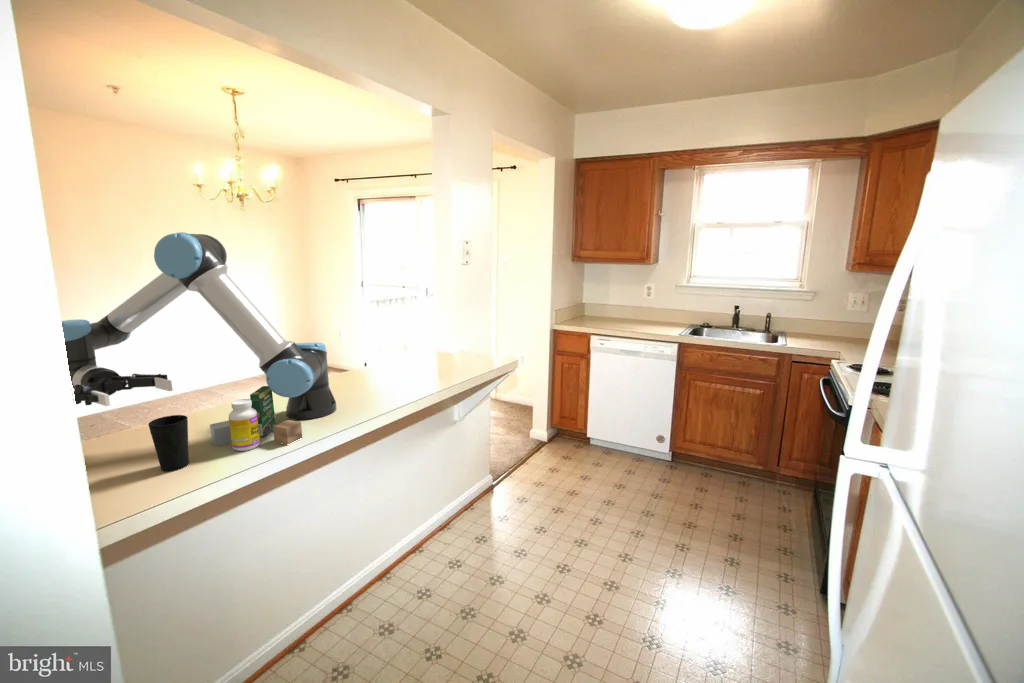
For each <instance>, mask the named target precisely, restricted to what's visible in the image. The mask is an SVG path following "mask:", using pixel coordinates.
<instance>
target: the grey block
mask: <svg viewBox="0 0 1024 683" xmlns="http://www.w3.org/2000/svg"><path fill="white" fill-rule="evenodd" d="M209 430H210V438H211V442H212V444H213V445H214V444H215V445H214V446H215V447H219V446H220V445H221V446H224V445H229V444H232V441H231V432H230V424H229V419H228V420H224V421H220V422H216V423H215V422H214V423H210V424H209Z"/></svg>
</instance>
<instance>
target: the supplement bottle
mask: <svg viewBox="0 0 1024 683" xmlns="http://www.w3.org/2000/svg"><path fill="white" fill-rule="evenodd" d="M251 406H252V401H251V400H250V398H241V399H236V400H234V401H232V402H231V409H232V411H231V412H230V413H229V414H228V420H229V424H230V432H231V441H232V443H231V446H232V447H231V448H232V449H233V450H234V451H236V452H245V451H250V450H254V449H256V448H257V447H259V446H260V444H261V437H260V436H259V427H258V418H257V411H256V410H255V409H253V408H251Z"/></svg>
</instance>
